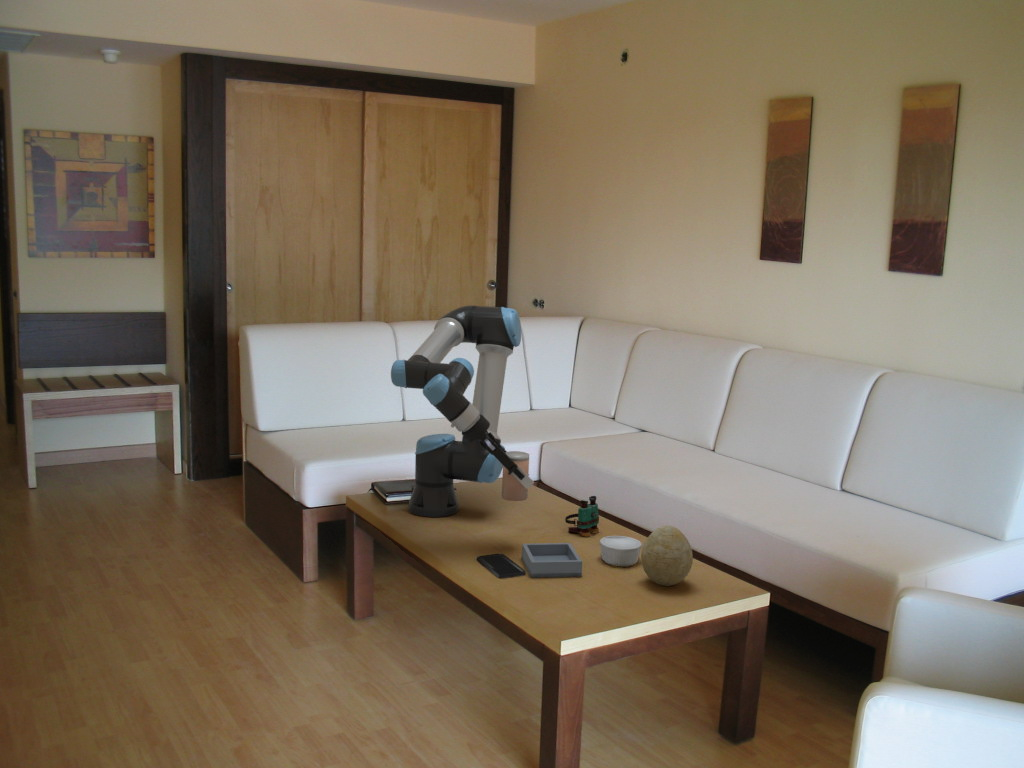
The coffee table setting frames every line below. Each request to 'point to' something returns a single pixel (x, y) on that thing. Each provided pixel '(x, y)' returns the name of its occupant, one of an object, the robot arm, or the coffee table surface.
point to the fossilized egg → (667, 556)
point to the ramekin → (620, 550)
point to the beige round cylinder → (510, 484)
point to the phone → (501, 566)
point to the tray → (551, 560)
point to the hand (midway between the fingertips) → (527, 481)
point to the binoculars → (585, 518)
